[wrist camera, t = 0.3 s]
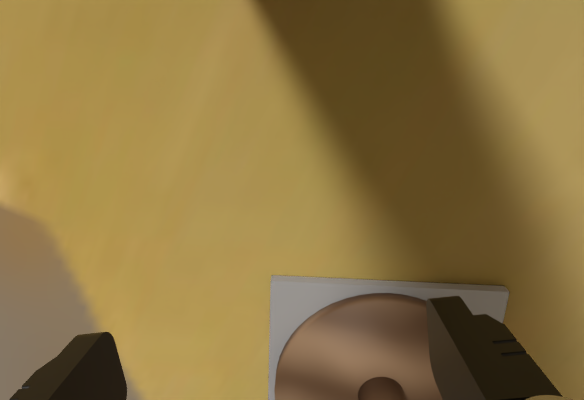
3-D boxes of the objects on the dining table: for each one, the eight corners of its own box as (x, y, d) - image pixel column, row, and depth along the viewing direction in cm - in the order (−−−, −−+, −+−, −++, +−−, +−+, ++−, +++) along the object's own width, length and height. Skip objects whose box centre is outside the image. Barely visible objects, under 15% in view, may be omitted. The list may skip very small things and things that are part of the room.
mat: (271, 275, 30) (270, 280, 29) (504, 285, 30) (509, 291, 29) (267, 451, 35) (267, 460, 35) (466, 462, 35) (470, 471, 34)
